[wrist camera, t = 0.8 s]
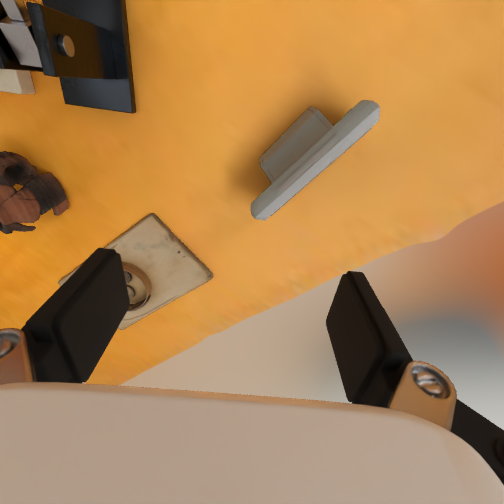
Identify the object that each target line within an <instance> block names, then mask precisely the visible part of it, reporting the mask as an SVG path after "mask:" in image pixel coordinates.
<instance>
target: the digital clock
mask: <svg viewBox="0 0 504 504" xmlns="http://www.w3.org/2000/svg"><path fill="white" fill-rule="evenodd" d="M379 115H380V106H379V105H378V104H377V103H375V102H374V101H369V100H362V101H360V102H359V103H358V104H357V105H356V106H355V107H353V108H352V109H350V110H349V111H348V112H347V114H346V115H345V116H344V117H343V118H342V119H341V120H339V121H338V122H337V123H336V124H335V125H334V126H333V125H332V124H331V123H330V122H329V121H328V120H327V119H326V118H325V117H324V115H323V114H322V113H321V112H320V111H319V110H318V109H317V108H314V107H312V106H310V107H309V108H308V109H307V110H306V111H305V112H304V113H303V114H302V115H301V116H300V117H299V118H298V119H297V120H296V121H295V122H294V123H293V124H292V125H291V126H290V127H289V128H288V129H287V130H286V131H285V132H284V133H283V134H282V135H281V136H280V137H279V139H278V140H277V141H276V142H275V143H274V144H273V145H272V146H271V147H270V148H269V149H268V150H267V151H266V152H265V153H264V154H263V155H262V156H261V157H260V166H261V168H262V170H263V171H264V172H265V173H266V175H267V176H268V178H269V180H270V181H271V183H272V184H271V185H270V186H269V187H268V188H267V189H266V190H265V191H264V192H262V193H261V194H260V195H259V196H258V197H257V198H256V199H255V200H254V201H253V202H252V203H251V213H252V216H253V217H254V218H255V219H259V220H266V219H267V218H268V217H269V216H272V215H273V214H274V213H275V212H276V211H277V210H279V209H280V208H281V207H282V206H283V205H284V204H285V203H287V202H288V201H289V200H290V199H291V198H292V197H293V196H295V195H296V194H297V193H298V192H299V191H300V190H301V189H303V188H304V187H305V186H306V185H307V184H308V183H309V182H311V181H312V180H313V179H314V178H315V177H316V176H318V175H319V174H320V173H321V172H322V171H323V170H324V169H326V168H327V167H328V166H329V165H330V164H331V163H332V162H334V161H335V160H336V159H337V158H338V157H339V156H340V155H342V154H343V153H344V152H345V151H346V150H347V149H348V148H350V147H351V146H352V145H353V144H354V143H355V142H357V141H358V140H359V139H360V138H361V137H362V136H363V135H365V134H366V133H367V132H368V131H369V130H370V129H371V127H373V126H374V125H375V124H376V123H377V122H378V121H379Z"/></svg>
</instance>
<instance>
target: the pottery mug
mask: <svg viewBox="0 0 504 504" xmlns="http://www.w3.org/2000/svg"><path fill="white" fill-rule="evenodd" d="M9 165H10V166H9ZM15 184H20V185H23V187H22V188H21V189H20V190H19V191H16V189H15V188H14V187H12V186H13V185H15ZM68 206H69V205H68V201H67V198H66V195H65V193H64V190H63V189H62V187H61V185H60V183H59V182H58V180H57V179H56V178H55V177H54V176H53V175H52V174H51V173H47V174H37V168H36V167H35V166H33V165H31V164H30V163H29V162H28V160H27V159H26V158H24V157H23V156H21V155H19V154H16V153H13V152H7V151H3V152H0V231H2V232H3V233H5V234H10V233H12V231H14V230H15V231H23V232H25V231H33V230H34V229H36V227H34V226H26V225H22V224H20V223H34V222H35V221H37V220H39V218H40V215H43V214H44V213H46V212H47V211H49V210H50V209H51V208H52V209H53V211H54V215H56V216H57V215H60V214H61V213H62V212H64V211H65V210H66V209H68ZM18 222H19V223H18Z"/></svg>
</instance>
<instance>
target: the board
mask: <svg viewBox="0 0 504 504" xmlns="http://www.w3.org/2000/svg"><path fill="white" fill-rule="evenodd" d="M105 248H108V249H115V250H116V252H117V253H119V254H120V256H121V260H122V265H123V270H124V275H125V280H126V285H127V289H128V294H129V299H130V305H129V309H128V311H127V312H126V314H125V316H124V318H123V319H122V321H121V323H120V325H119V326H118V328H119V329H120V330H123V329H125V328H127V327H128V326H130V325H132V324H134V323H135V322H137V321H139V320H140V319H142V318H144V317H146V316H147V315H149V314H151V313H153V312H154V311H156V310H158V309H160V308H161V307H163V306H165V305H167V304H168V303H170V302H172V301H174V300H175V299H177V298H179V297H181V296H183V295H184V294H186V293H188V292H190V291H192V290H194V289H196V288H197V287H199V286H201V285H203V284H204V283H206V282H208V281H209V280H211V279H212V278H213V274H212V273H211V271H210V270H209V269H208V268H207V267H206V266H205V265H204V264H203V263H202V262H201V261H200V260H199V259H198V258H197V257H196V256H195V255H194V254H193V253H192V252H191V251H190V250H189V249H188V248H187V247H186V246H185V245H184V244H183V243H182V242H181V241H180V240H179V239H178V238H177V237H176V236H175V235H174V234H173V233H172V232H171V231H170V230H169V228H168V227H167V226H166V225H165V224H164V223H163V222H162V221H161V220H160V219H159V218H158V217H157V216H156V215H155V214H153V213H151V214H149V215H148V216H146V217H145V218H144V219H142V220H141V221H140V222H138V223H137V224H136V225H134V226H133V227H132V228H130V229H129V230H128V231H126V232H125V233H124V234H122V235H121V236H119V237H118V238H117V239H115V240H114V241H113V242H111V243H110V244H109V245H108V246H106V247H105ZM80 266H81V265H80ZM80 266H79V267H80ZM79 267H78V268H79ZM78 268H76V269H75V270H74V271H72V272H71V273H70V274H68V275H67V276H65V277H64V278H63V279H61V280H60V281H59V282H58V284H59V285H60V286H62V285H63V284H64V283H65V282H66V281H67V279H68V278H69V277H70V276H71V275H72V274H73V273H74V272H75V271H76V270H77V269H78Z"/></svg>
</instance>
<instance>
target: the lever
mask: <svg viewBox="0 0 504 504" xmlns="http://www.w3.org/2000/svg"><path fill="white" fill-rule="evenodd" d="M0 1H1V3H2V5H3V7H4V9H5V11H6V13H7V15H8V16H7V17H5V18H3V19H2V20H0V28H1V30H2V32H3V34H4V36H5V37H6V39H7V41H8V43H9V45H10V46H11V48H12V50H13V52H14V53H15V55H16V57H17V59H18V61H19V62H20V64H21V65H28V66H35V67H41V68H42V65H41V61H40V57H39V53H38V49H37V45H36V41H35V37H34V33H33V29H32V25H31V21H30V17H29V13H28V10H27V8H26V6H25V4H24V2H23V0H0Z"/></svg>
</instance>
